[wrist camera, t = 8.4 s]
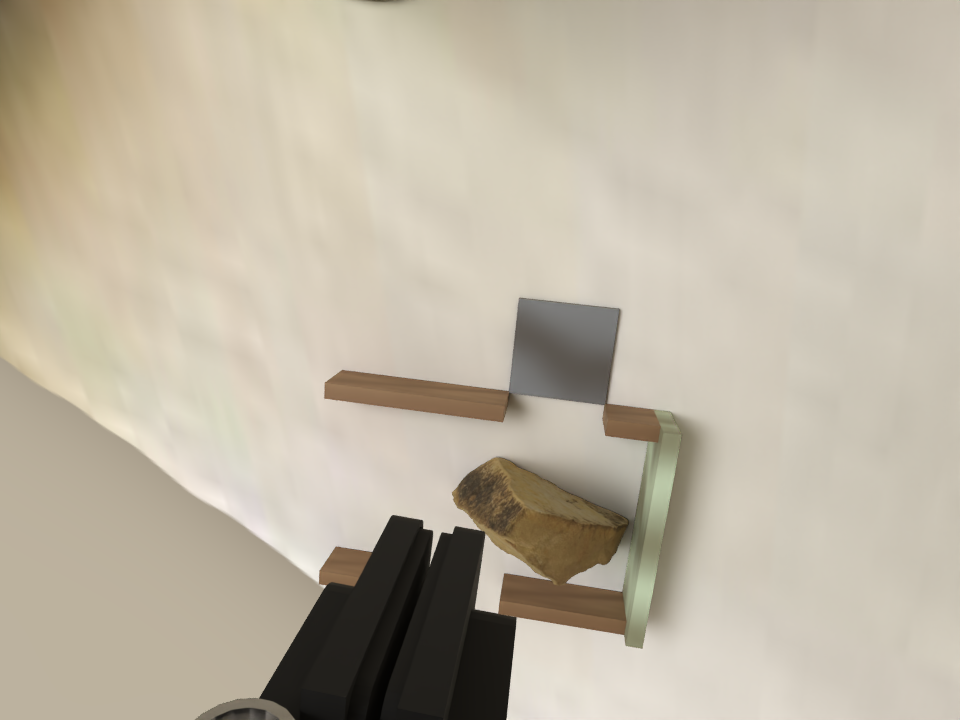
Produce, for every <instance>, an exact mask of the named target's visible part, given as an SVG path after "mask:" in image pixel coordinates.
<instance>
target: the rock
mask: <svg viewBox="0 0 960 720" xmlns="http://www.w3.org/2000/svg"><path fill="white" fill-rule="evenodd" d="M452 495H453V496H454V499H453V500H454V502H455V504H456V506H457V508H459V509H461V510H463V511H465V512H466V513H467V514H468V515H469V517H470V518H471V519H473V521H474V523H475V524H476V525H477V527H478V528H479V529H480V530H482V531H485V534H487V535H488V536H489V538H490V539H491V541H492V542H493V543H494V544H495V545H496V546H498V547H499V548H500V549H501V550H504V551H505V552H506V553H508V554H511V555H513V556H515V557H517V558H518V559H520V560H521V561H523V562H525V563H526V564H527V565H528V566H529V567H531V569H532V570H533V571H534V572H535V573H538V574H540V575H541V576H543V577H546V578H548V579H550V580H551V581H552V582H553V584H554V585H558V586H562V585H564V584H565V583H566V582H567V581H568V580H569V579H570V578H571V577H573V576H574V575H576V574H578V573H580V572H584V571H586V570H587V569H588V568H591V567H593V566H595V565H596V564H601V565H605V564H607V563H609V562H610V560H611V558H612V556H613V555H614V554H615V553H616V551H617V548H618V546H619V543H620V541H621V538H622V537H623V534H624V532H625V530H626V528H627V526H628V524H629V522H628V520H627V519H626V518H624V517H623V516H621V515H619V514H616V513H614V512H612V511H610V510H607V509H605V508H603V507H599V506H596V505H594V504H592V503H590V502H588V501H586V500H584V499H582V498H580V497H578V496H575V495H572V494H570V493H568V492H566V491H564V490H562V489H560V488H558V487H557V486H556V485H555V484H553V483H552V482H549V481H547V480H545V479H542V478H540V477H539V476H538V475H536V474H534V473H531V472H528V471H526V470H524V469H520V468H518V467H517V466H516V465H515V464H513V463H512V462H510V461H508V460H506V459H503V458H498V457H497V458H493V459H491V460H490V461H488V462H486V463H484V464H483V465H481V466H479V467H478V468H476V469H475V470H473V471H472V472H470V473H469V474H468V475H467V476H466V477H465V478H464V479H463V480H462V481H461V483H460V484H459V486H458V487H457V488H456V489H455V490H454V491H453V492H452Z"/></svg>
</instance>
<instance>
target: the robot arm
mask: <svg viewBox="0 0 960 720" xmlns="http://www.w3.org/2000/svg"><path fill="white" fill-rule="evenodd" d="M432 540H433V531H432V530H426V529H423V520H418V519H412V518H407V517H401V516H396V515H392V516H391V518H390V519H389V521H388V523H387V525H386V527H385V529H384V531H383V533H382V535H381V537H380V538H379V540H378V542H377V544H376V546H375V548H374V550H373V552H372V554H371V556H370V558H369V560H368V561H367V563H366V565H365V567H364V569H363V571H362V573H361V575H360V577H359V579H358V581H357V582H356V584H355V586H350V585H345V584H340V583H334V582H331V583H329V584H328V585H327V586H326V587H325V589H324V590H323V592H322V594H321V595H320V597H319V599H318V600H317V602H316V604H315V605H314V607H313V609H312V610H311V612H310V614H309V615H308V617H307V619H306V620H305V622H304V624H303V626H302V627H301V629H300V631H299V632H298V634H297V635H296V637H295V639H294V641H293V642H292V644H291V646H290V647H289V649H288V651H287V652H286V654H285V656H284V657H283V659H282V661H281V662H280V664H279V666H278V667H277V669H276V671H275V672H274V674H273V676H272V678H271V679H270V681H269V683H268V684H267V686H266V688H265V689H264V691H263V693H262V694H261V696H260V698H259V699H258V698H248V699H237V700H233V701H230V702H226V703H223V704H219V705H218V706H216V707H214V708H212V709H210V710H208V711H207V712H205V713H203V714H201V715H200V716H199V717H198V718H197V719H196V720H506V718H507V708H508V698H509V689H510V679H511V669H512V660H513V650H514V640H515V630H516V617H512V616H506V615H501V614H496V613H491V612H486V611H480V610H475V603H476V596H477V589H478V582H479V575H480V568H481V561H482V554H483V547H484V540H485V531H479V530H473V529H468V528H462V527H457V526H455V528H454V531H453V534H448V533H443V532H442V533H441V536H440V538H439V541H438V544H437V547H436V550H435V553H434V556H433V558H432V561H431V564H430V557H431V549H432ZM429 566H430V567H429Z"/></svg>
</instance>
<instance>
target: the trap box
mask: <svg viewBox="0 0 960 720" xmlns="http://www.w3.org/2000/svg"><path fill="white" fill-rule="evenodd" d="M618 315H619V309H616V308H607V307H598V306H589V305H580V304H571V303H562V302H553V301H544V300H535V299H526V298H519V303H518V312H517V321H516V331H515V340H514V349H513V359H512V368H511V377H510V386H509V391H502V390H494V389H486V388H478V387H471V386H463V385H455V384H447V383H439V382H431V381H423V380H416V379H408V378H400V377H392V376H384V375H376V374H368V373H361V372H353V371H345V370H342V371H340V372H339V373H338V374H336V375H335V376H333V377H332V378H331V379H329V380H328V381H327V382H325V395H324V398H325V399H332V400H340V401H347V402H355V403H363V404H370V405H378V406H385V407H393V408H400V409H408V410H415V411H423V412H430V413H438V414H445V415H453V416H460V417H468V418H475V419H483V420H491V421H498V422H503V421H504V417H505V414H506V410H507V407H508V398H509V393H514V394H522V395H530V396H538V397H546V398H554V399H561V400H569V401H577V402H585V403H593V404H601V405H604V412H603V418H602V419H603V425H604V430H605V436H611V437H619V438H626V439H634V440H641V441H648V446H647V452H646V458H645V463H644V469H643V475H642V481H641V487H640V493H639V498H638V504H637V510H636V516H635V522H634V528H633V533H632V539H631V545H630V551H629V557H628V563H627V568H626V574H625V580H624V586H623V592H617V591H611V590H604V589H598V588H592V587H586V586H579V585H573V584H567V583H565V584H564V585H562V586H558V585H554V584H553V582H552V581H548V580H542V579H535V578H529V577H523V576H517V575H510V574H504V578H503V584H502V590H501V596H500V603H499V612H498V614H502V615H508V616H514V617H520V618H526V619H532V620H538V621H544V622H550V623H556V624H562V625H568V626H574V627H580V628H586V629H592V630H598V631H604V632H610V633H616V634H622V635H624V637H625V644H626V646H630V647H636V648H641V649H642V648H643V642H644V637H645V631H646V626H647V621H648V615H649V610H650V605H651V599H652V594H653V588H654V583H655V578H656V572H657V567H658V561H659V556H660V551H661V545H662V540H663V535H664V529H665V524H666V518H667V513H668V508H669V502H670V497H671V491H672V486H673V481H674V475H675V470H676V465H677V459H678V454H679V448H680V443H681V438H682V434H681V432H680V430H679V428H678V426H677V424H676V422H675V420H674V418H673V416H672V414H671V413H670V412H667V411H659V410H651V409H643V408H636V407H628V406H620V405H612V404H605V402H606V395H607V389H608V382H609V375H610V369H611V362H612V355H613V349H614V342H615V335H616V329H617V322H618ZM371 554H372V552H366V551H360V550H353V549H347V548H341V547H335V549H334V550H333V552H332V553H331V555H330V556H329V558H328V559H327V561H326V562H325V564H324V565H323V567H322V568H321V570H320V573H319V584H322V585H328V584H329V583H331V582H334V583H340V584H345V585H350V586H355V584H356V582H357V581H358V579H359V577H360V575H361V573H362V571H363V569H364V567H365V565H366V563H367V561H368V560H369V558H370V556H371Z"/></svg>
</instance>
